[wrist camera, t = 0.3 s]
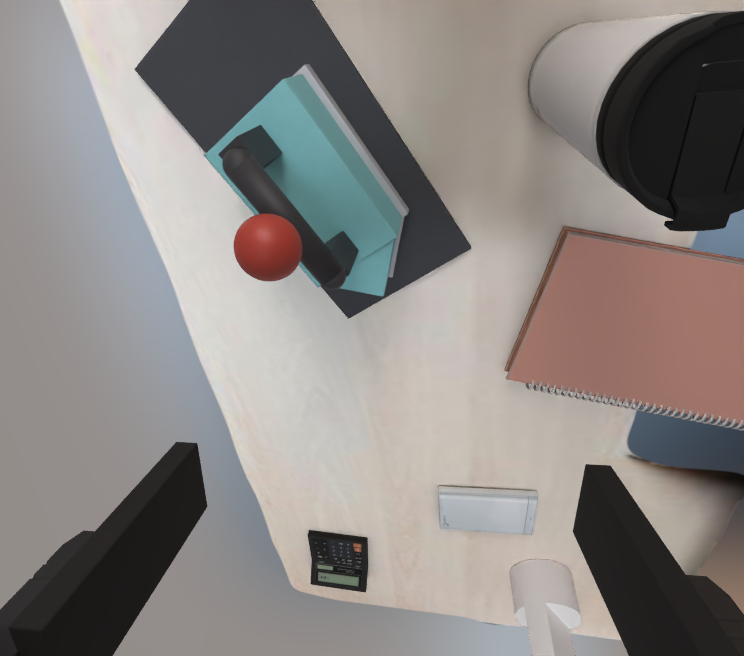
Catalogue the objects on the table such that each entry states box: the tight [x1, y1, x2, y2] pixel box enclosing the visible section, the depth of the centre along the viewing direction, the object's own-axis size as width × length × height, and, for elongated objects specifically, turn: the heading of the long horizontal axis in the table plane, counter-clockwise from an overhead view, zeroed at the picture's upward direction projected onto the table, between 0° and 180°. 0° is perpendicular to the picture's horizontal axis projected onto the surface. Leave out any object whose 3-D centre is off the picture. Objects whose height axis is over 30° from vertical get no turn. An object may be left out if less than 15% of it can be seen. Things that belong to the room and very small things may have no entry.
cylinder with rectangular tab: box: [510, 559, 582, 656], centre depth 61 cm, size 9×9×12 cm
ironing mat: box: [135, 0, 471, 319], centre depth 35 cm, size 14×27×1 cm, turn 37°
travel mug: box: [528, 11, 744, 231], centre depth 22 cm, size 6×7×20 cm
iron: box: [205, 64, 409, 297], centre depth 30 cm, size 17×9×16 cm, turn 37°
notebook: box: [505, 227, 744, 430], centre depth 39 cm, size 27×17×2 cm, turn 82°
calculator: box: [308, 530, 368, 592], centre depth 69 cm, size 9×12×3 cm
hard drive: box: [439, 486, 538, 535], centre depth 57 cm, size 2×8×12 cm
